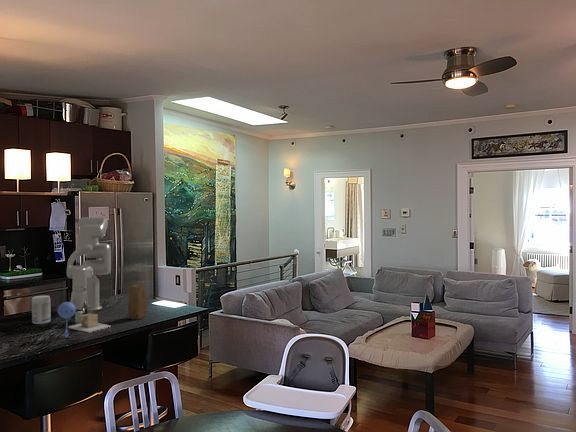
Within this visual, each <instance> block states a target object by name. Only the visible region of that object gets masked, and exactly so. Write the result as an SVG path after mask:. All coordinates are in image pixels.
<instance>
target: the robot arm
mask: <svg viewBox="0 0 576 432" xmlns="http://www.w3.org/2000/svg"><path fill="white" fill-rule="evenodd" d="M77 222H78V227H79V228H78V229H79V230H78V238H77V248H76V249H75V250H74V251H73V252H72V253H71V255H70V256H69V258H68V260H67V266H66V276H67V278H68V279H72V291H71V293H70V295H71V296H70V302H71V303H73V304H74V305H75V308H76V312H78V310H79V311H83V313H82V315H85V314H89V311H90V312H92V311H93V312H94V311H98V310H101V309H103V306H102V305H100V279H99V278H98V277H97V276H103V275H104V276H105V275H109V274H110V273H111V271H112V248H111V246H110V244H109V243H107V242H105V243H103V242H99V239H103V238H104V237H105V235H106V233H107V229H108V225H109V223H108V222H109V221H108V219H107V218H106V217H103V216H102V217H99V216H98V217H97V216H96V217H93V216H91V217H89V216H85V217H81V218H79V219H78V221H77ZM82 256H85V258H88V259H87V260H85V261H83V262H82V264H81V265H74V264H75V261H76V260H77V259H78V258H80V257H82ZM70 318H72V319H75V314H74V315H73V316H72V317H70Z"/></svg>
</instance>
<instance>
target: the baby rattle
mask: <svg viewBox="0 0 576 432" xmlns="http://www.w3.org/2000/svg"><path fill="white" fill-rule="evenodd" d="M76 310H77V309H76V308H75V305H74V304H73V303H71V301H64V302H61V304H59V305H58V308H57V314H58V316H60V318H62V319H65V332H64V338H68V337H69V330H68V319H70V318H71V317H72V316H73V315H74V314H75V312H76Z"/></svg>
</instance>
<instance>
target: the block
mask: <svg viewBox="0 0 576 432" xmlns="http://www.w3.org/2000/svg"><path fill="white" fill-rule="evenodd" d="M145 287H146V286H145V285H144V284H141V283H140V284H138V283H137V284H133V285H131V286H129V288H128V291H129V292H128V298H127V299H128V300H127V303H128V306H127V307H128V308H127V313H128V318H129V319H130V320H135V319H136V320H141V319H143V318H145V317H146V315H147V310H148V309H147V308H148V296H147V292H146V288H145Z"/></svg>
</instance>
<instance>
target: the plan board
mask: <svg viewBox="0 0 576 432" xmlns="http://www.w3.org/2000/svg"><path fill="white" fill-rule="evenodd" d="M111 326H112V325H109V324H105V323H99V322H98V325H97V326H93V327H89V328H87V327H83V326H81V323H80V324H77V323H75V324H72V325H69V326H68V325H67V329H71V330H76V331H80V332H84V333H85V332H86V333H89V334H90V333H93V331H94V332H97V330H98V331H101V329H102V330H105V329H108V327H109V328H111Z"/></svg>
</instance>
